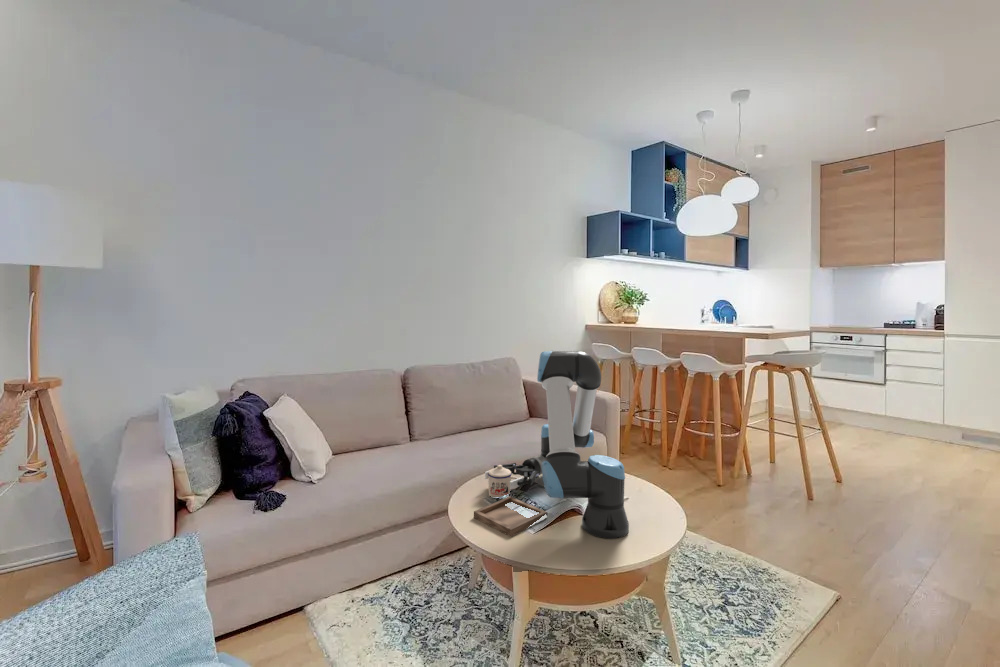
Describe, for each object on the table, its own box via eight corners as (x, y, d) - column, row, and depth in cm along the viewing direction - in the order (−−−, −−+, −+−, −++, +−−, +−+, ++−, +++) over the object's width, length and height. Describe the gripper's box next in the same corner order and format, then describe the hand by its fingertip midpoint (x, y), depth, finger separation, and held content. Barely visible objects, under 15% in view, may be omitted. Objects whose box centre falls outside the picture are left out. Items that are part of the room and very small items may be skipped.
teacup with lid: (487, 499, 177) (487, 469, 176) (488, 489, 186) (488, 461, 185) (519, 500, 177) (519, 470, 176) (518, 490, 186) (518, 461, 185)
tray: (547, 518, 162) (547, 512, 162) (510, 536, 149) (511, 529, 149) (510, 502, 175) (510, 496, 175) (473, 517, 162) (473, 511, 162)
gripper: (558, 484, 185) (521, 499, 170) (512, 467, 203) (476, 480, 188) (558, 465, 185) (521, 479, 170) (513, 450, 202) (476, 462, 188)
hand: (497, 480), depth 179 cm, fingers open, 13 cm apart
